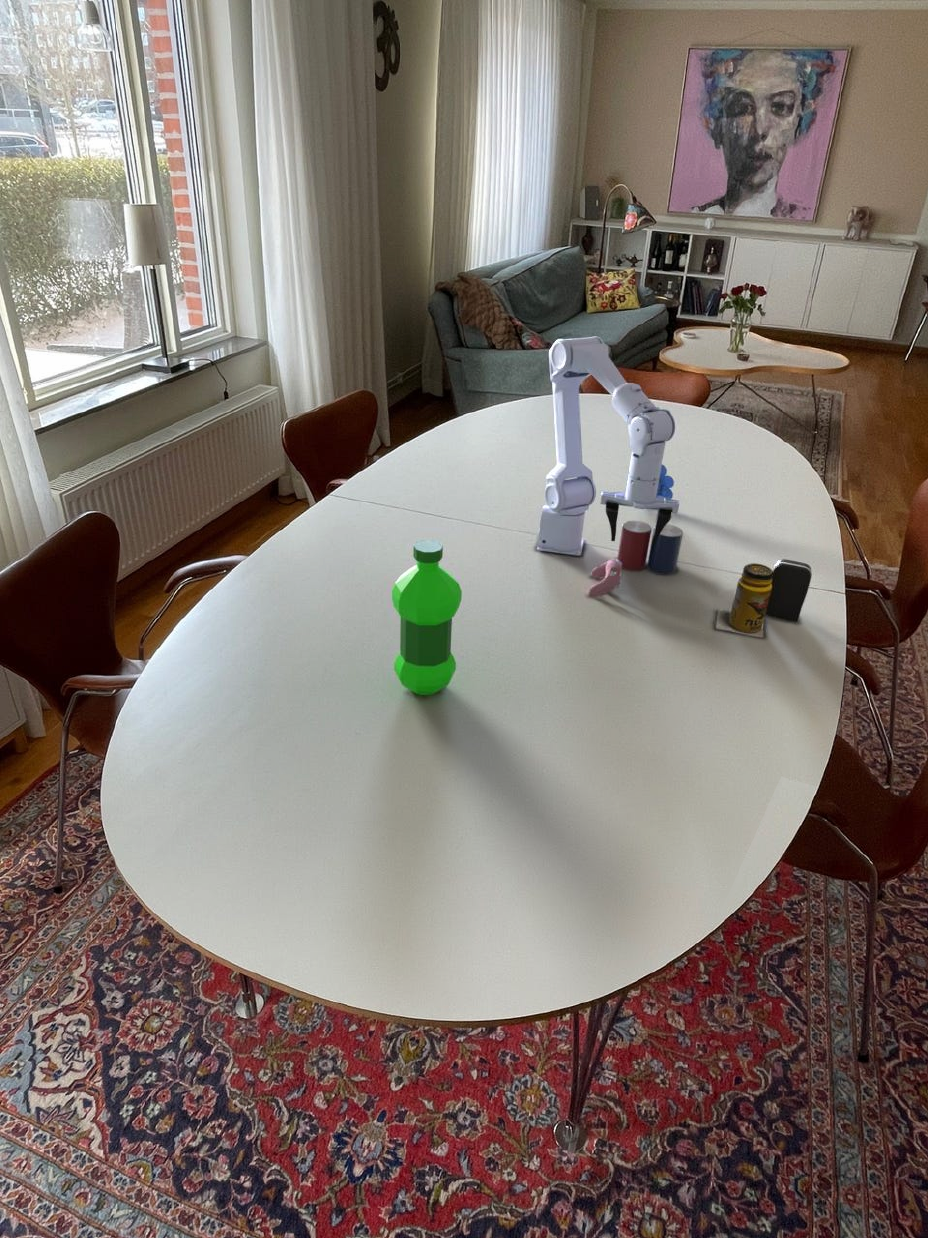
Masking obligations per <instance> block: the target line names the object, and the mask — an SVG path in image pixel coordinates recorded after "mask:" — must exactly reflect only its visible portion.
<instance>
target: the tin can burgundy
mask: <svg viewBox="0 0 928 1238" xmlns="http://www.w3.org/2000/svg"><path fill="white" fill-rule="evenodd" d="M651 535H652V526H651V525H650V524H649V523H647V522H644V521H641V520H627V521H625V522H623V523H622V526H621V532H620V539H619V545H618V551H617V552H618V553H617V558H616V559H617V560H619V561H621V563H622V569H625V570H630V571H639V570H643V569H644V568H645V567H646V565H647V560H648V554H649V548H650V540H651V537H652V536H651Z"/></svg>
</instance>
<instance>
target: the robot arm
mask: <svg viewBox="0 0 928 1238" xmlns="http://www.w3.org/2000/svg"><path fill="white" fill-rule="evenodd" d="M548 362H549V375H550V376H549V377H550V378H549V379H550V382H551V383H552V384H551V385H552V400H553V401H552V403H553V417H554V418H553V419H554V432H555V434H554V436H555V453H556V465H555V466H554V468H553V469H552V470H550V472H548V474H547V475H546V477H545V478H546V486H545V489H544V500H545V503H546V505H543V506H542V509H541V515H540V520H539V529H538V533H537V538H538V541H537V547H536V550H538V551H541V552H549V553H555V554H561V555H562V554H563V555H570V556H577V557H578V556H579V557H580V556H582V551H583V547H584V542H585V539H583V533H584V532H583V531H584V526H585V525H584V524H585V515H586V511H589V507H590V506H591V505H592V504H593V503H594V502H595V500H596V495H597V488H596V484H595V481H594V479H593V471H592V469H590V468H589V467H587V466H586V465H585V464H584V463H583V445H582V427H581V426H582V425H581V424H582V423H581V407H580V386H581V384H583V382H584V381H585V380H586V379H587V378H588V377H590V376H591V375H592V376H593V378H594V379H595V380H596V381H597V383H599V384H600V385H601V386H602V387H603V388H604V389H605V390H606V391H607V392H608V393H609V394H610V395H611V396H612V397H611V405H612V408H613V409H614V410H615V411H616V412H617V413H618V414H619V416H620V417H621V418H622V419H623V420H624V423H626V424H627V426H628V435H629V439H630V445H629V449H630V452H631V456H630V463H629V469H628V474H627V476H628V481H627V480H626V487H625V491H603V490H602V491H601V496H600V505H605V509H604V510H605V514H606V516H607V517H606V518H607V520H608V522H609V529H610V536H611V538H610V540H611V542H615V541H616V536H617V535H616V534H617V524H618V522H617V521H618V517H619V509H620V506H625V507H631V508H634V509H638V510H645V509H648V510H655V511H656V519H655V522H654V523H655V524H654V528H653V530H654V531H653V532H652V534H651V535H652V536H651V539H650V540H651V542H650V547H651V546H655V544H656V541H657V539H658V537H659V535H660V533H661V531H662V530H663V528H664V527H665V526H666V525H668V523H669V522H670V520H671V519H672V514H675V515H676V514H678V513H679V508H680V500H678V499H673V498H672V499H668V498H664V497H660V496H656V494H657V488H658V483H659V477H660V472H661V466H662V465H663V459H664V455H665V450H666V449H665V448H666V442H668V441H669V442H670V440H672V439H673V437H674V435H675V432H676V422H675V418H674V416H673V415H672V413H671V411H670V410H669V409H666V408H662V409H661V408H660V407H659V406H656V405H655V404H654V403H653V402H652V401H651V400H650V399H649V397H648V396H647V395H646V394H645V393H644V392H643V390H642V387H641V386H640V384H638V383H637V384H636V383H633V382H627V381H626V379H625V378H624V377H623V375H622V374H621V372H620V371H619V369H618V368H617V366H616V365H615V363H614V362H613V361H612V359H611V358H610V357H609V346H608V345H607V344H606V343H605V342H604V340H603V338H602V337H600V336H597V335H593V336H590V337H589V336H588V337H578V338H559V339H556V340H555V342H554V343H553V344H552V346H551V348H550V349H549V351H548Z"/></svg>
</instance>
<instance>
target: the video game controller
mask: <svg viewBox="0 0 928 1238" xmlns="http://www.w3.org/2000/svg"><path fill="white" fill-rule="evenodd" d="M622 569H623V568H622V563H621V561H619V560H617V558H614V557H612V558H609V559H608V560H606V561H605V562H603V563H602V564H599V565H597V566H596V567H594V568H593V569H592V571H591V577H593V578H594V579H602V578H604V579H602V580H601V581H599V582H597V583H595V584H593V585H591V587H590V588H589V589H588V595H589V596H590V597H593V598H598V597H602V596H604V595H606V594H608V593H610V592H612V591H614V590H615V589H616V588H620V586H621V582H620V581H621V578H622V576H621V573H622Z"/></svg>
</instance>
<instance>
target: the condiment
mask: <svg viewBox="0 0 928 1238" xmlns="http://www.w3.org/2000/svg"><path fill="white" fill-rule="evenodd" d="M772 577H773V569H772V568H770V567H769V566H767V565H764V564H761V563H757V562H756V563H754V562H753V563H748V564H746V565H744V567H743V569H742V573H741V577H740V578H739V579H738V580H737V584H736V589H735V593H734V595H733V600H732V603H731V604H732V605H731V609H730V611H726V610H722V609H717V616H716V625H715V629H717V630H722V631H728V632H733V633H737V634H742V635H745V636H750V637H756V638H764V619H765V616H766V615H765V612H766V608H767V605H768V601H769V597H770V593H771V589H772V584H771V582H772Z"/></svg>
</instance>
